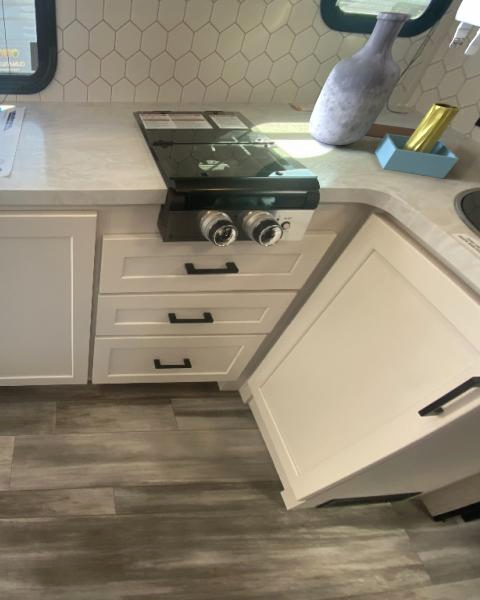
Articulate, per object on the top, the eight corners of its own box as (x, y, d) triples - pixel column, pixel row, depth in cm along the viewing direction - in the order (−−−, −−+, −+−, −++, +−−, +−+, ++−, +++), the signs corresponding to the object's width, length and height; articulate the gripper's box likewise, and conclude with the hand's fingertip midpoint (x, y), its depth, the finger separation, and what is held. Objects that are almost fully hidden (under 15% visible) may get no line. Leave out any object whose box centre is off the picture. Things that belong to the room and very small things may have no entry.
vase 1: (352, 136, 108) (420, 12, 87) (366, 155, 97) (448, 18, 76) (297, 130, 111) (350, 9, 90) (304, 147, 100) (367, 14, 79)
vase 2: (393, 157, 96) (431, 100, 86) (420, 163, 93) (461, 105, 83) (392, 164, 92) (431, 106, 82) (420, 170, 90) (464, 110, 80)
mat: (414, 130, 114) (414, 128, 113) (425, 144, 104) (426, 142, 104) (352, 121, 118) (353, 120, 118) (358, 134, 109) (358, 133, 109)
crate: (429, 159, 95) (442, 141, 92) (443, 178, 87) (459, 158, 83) (374, 151, 99) (385, 133, 95) (382, 168, 90) (395, 149, 87)
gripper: (566, -37, 59) (497, 60, 68) (514, -36, 72) (462, 45, 82) (519, -37, 61) (458, 57, 70) (477, -36, 74) (431, 43, 84)
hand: (460, 51), depth 76 cm, fingers open, 8 cm apart
